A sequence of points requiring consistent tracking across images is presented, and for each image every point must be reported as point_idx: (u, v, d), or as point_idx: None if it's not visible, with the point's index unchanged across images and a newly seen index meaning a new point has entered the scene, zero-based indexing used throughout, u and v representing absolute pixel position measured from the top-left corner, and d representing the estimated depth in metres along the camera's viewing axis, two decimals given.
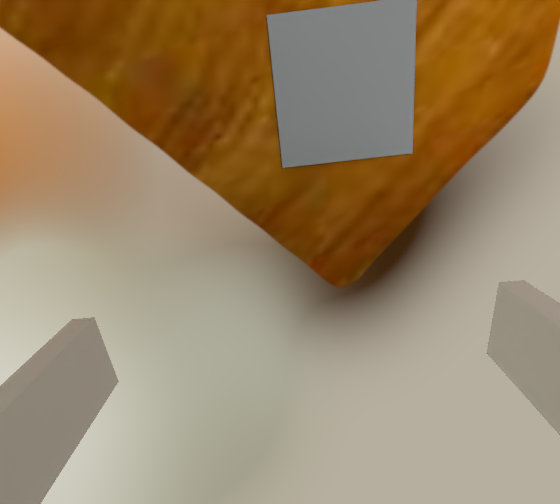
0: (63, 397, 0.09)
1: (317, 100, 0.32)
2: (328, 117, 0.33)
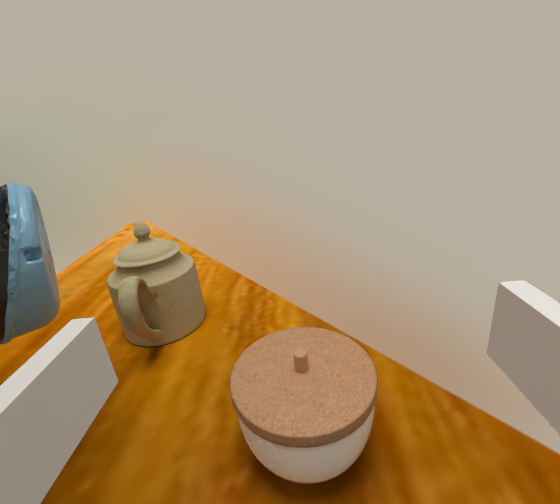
0: (63, 397, 0.09)
1: None
2: None
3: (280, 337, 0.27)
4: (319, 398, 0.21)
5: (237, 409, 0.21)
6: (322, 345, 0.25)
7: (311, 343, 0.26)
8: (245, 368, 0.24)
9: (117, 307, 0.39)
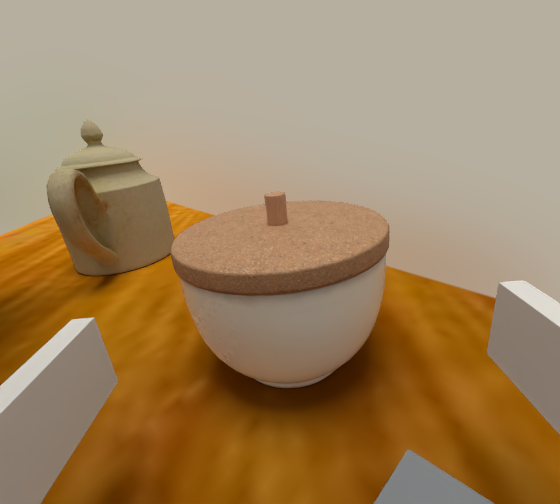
0: (63, 397, 0.09)
1: None
2: None
3: (252, 208, 0.20)
4: (301, 239, 0.13)
5: (175, 261, 0.14)
6: (310, 207, 0.18)
7: (294, 207, 0.19)
8: (197, 229, 0.17)
9: None
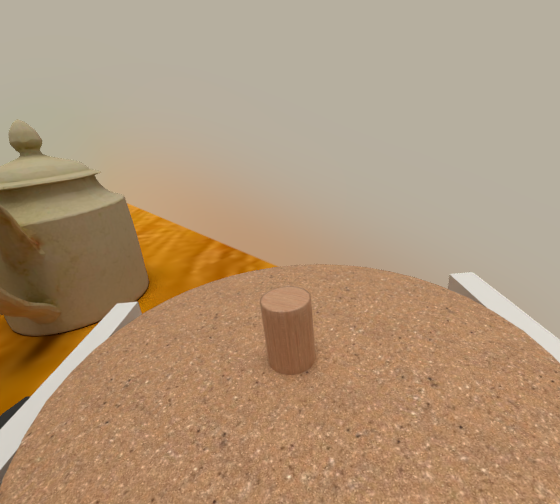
0: None
1: None
2: None
3: (240, 283, 0.10)
4: (375, 496, 0.04)
5: None
6: (354, 295, 0.09)
7: (321, 292, 0.09)
8: (111, 362, 0.07)
9: None
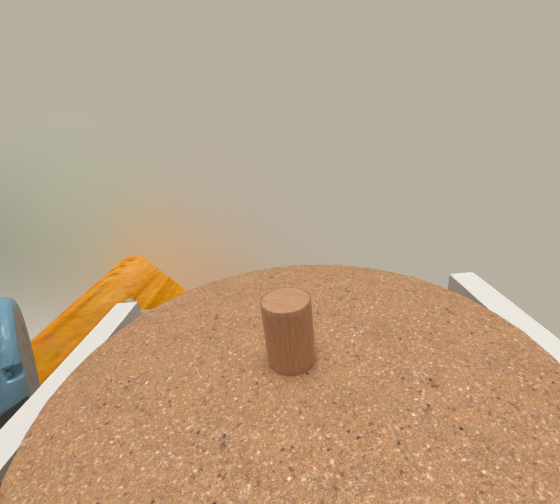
0: None
1: None
2: None
3: (240, 284, 0.10)
4: (376, 498, 0.04)
5: None
6: (354, 296, 0.09)
7: (321, 293, 0.09)
8: (111, 363, 0.07)
9: None
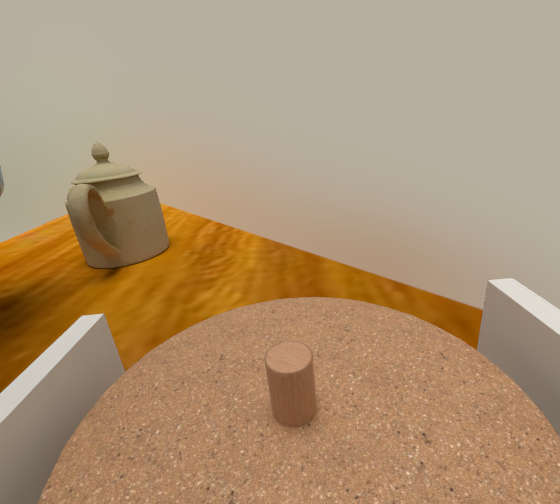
0: (75, 391, 0.09)
1: None
2: None
3: (244, 319, 0.11)
4: None
5: None
6: (353, 337, 0.09)
7: (321, 332, 0.10)
8: (123, 408, 0.08)
9: (75, 227, 0.39)
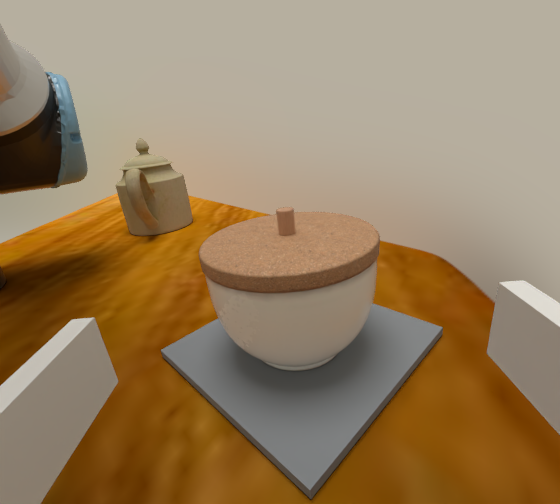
0: (63, 397, 0.09)
1: None
2: (309, 369, 0.19)
3: (264, 218, 0.23)
4: (307, 248, 0.17)
5: (205, 265, 0.17)
6: (313, 219, 0.21)
7: (300, 219, 0.22)
8: (219, 238, 0.20)
9: (124, 203, 0.51)
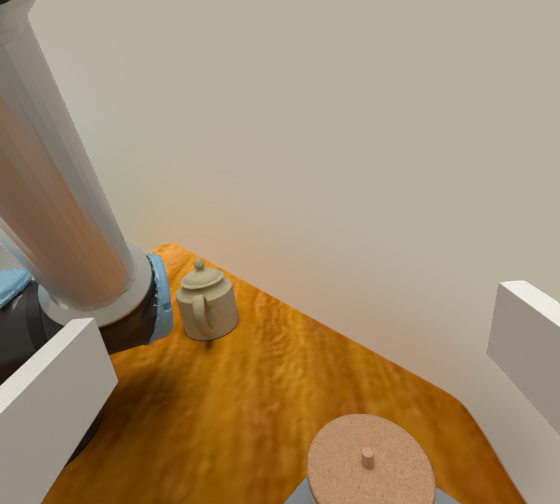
0: (63, 397, 0.09)
1: None
2: None
3: (341, 426, 0.31)
4: (389, 498, 0.25)
5: None
6: (381, 437, 0.30)
7: (370, 434, 0.30)
8: (318, 462, 0.28)
9: (184, 314, 0.60)
